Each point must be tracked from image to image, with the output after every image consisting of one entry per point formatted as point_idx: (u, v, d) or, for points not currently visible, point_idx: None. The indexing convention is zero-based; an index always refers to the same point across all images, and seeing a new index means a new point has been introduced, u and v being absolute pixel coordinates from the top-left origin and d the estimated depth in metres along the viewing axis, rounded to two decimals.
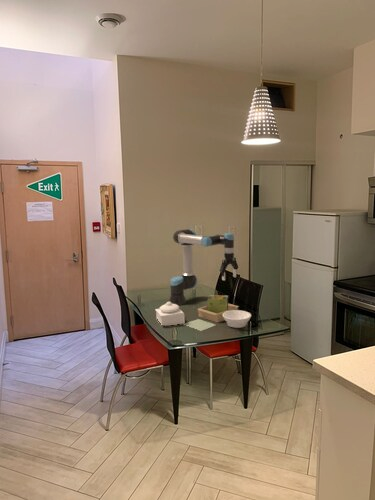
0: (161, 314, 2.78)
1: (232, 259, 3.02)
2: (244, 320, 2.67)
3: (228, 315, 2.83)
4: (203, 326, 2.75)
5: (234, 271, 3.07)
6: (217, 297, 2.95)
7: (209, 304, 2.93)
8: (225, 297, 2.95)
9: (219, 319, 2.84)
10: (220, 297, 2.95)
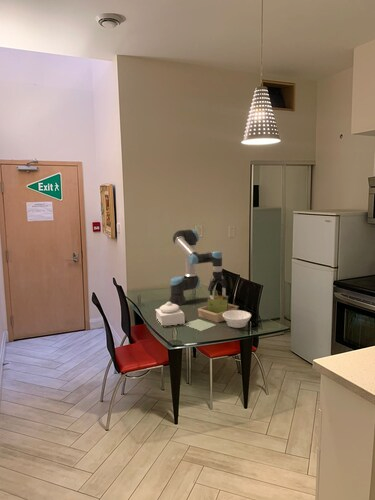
0: (161, 314, 2.78)
1: (221, 278, 2.95)
2: (244, 320, 2.67)
3: (228, 315, 2.83)
4: (203, 326, 2.75)
5: (223, 290, 3.00)
6: (217, 297, 2.95)
7: (209, 304, 2.93)
8: (225, 297, 2.95)
9: (219, 319, 2.84)
10: (220, 297, 2.95)
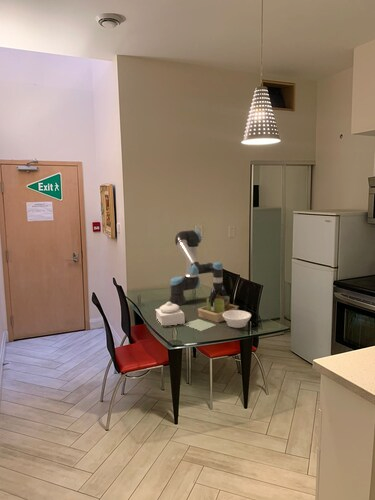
0: (161, 314, 2.78)
1: (221, 288, 2.96)
2: (244, 320, 2.67)
3: (228, 315, 2.83)
4: (203, 326, 2.75)
5: None
6: (216, 297, 2.95)
7: (208, 303, 2.96)
8: (224, 298, 2.93)
9: (219, 319, 2.84)
10: (219, 297, 2.94)
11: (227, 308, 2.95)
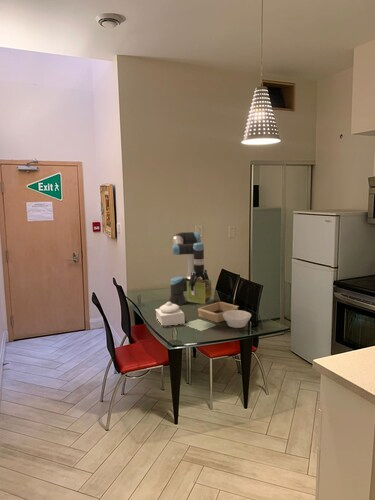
0: (161, 314, 2.78)
1: (202, 271, 2.74)
2: (244, 320, 2.67)
3: (228, 315, 2.83)
4: (203, 326, 2.75)
5: None
6: (197, 280, 2.73)
7: (188, 287, 2.73)
8: (206, 281, 2.71)
9: (219, 319, 2.84)
10: (200, 281, 2.72)
11: (209, 292, 2.72)
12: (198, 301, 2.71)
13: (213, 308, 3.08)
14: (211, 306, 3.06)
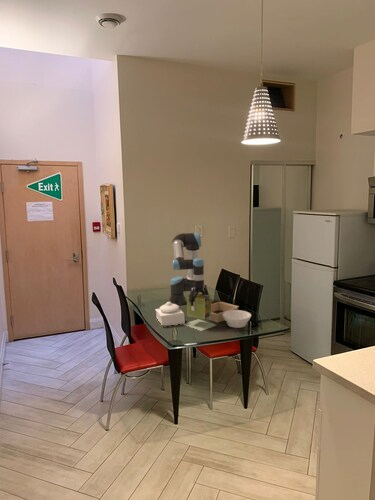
0: (161, 314, 2.78)
1: (202, 287, 2.76)
2: (244, 320, 2.67)
3: (228, 315, 2.83)
4: (203, 326, 2.75)
5: None
6: (197, 296, 2.75)
7: (188, 302, 2.75)
8: (205, 296, 2.72)
9: (219, 319, 2.84)
10: (200, 296, 2.74)
11: (209, 308, 2.74)
12: (198, 316, 2.72)
13: (213, 308, 3.08)
14: (211, 306, 3.06)
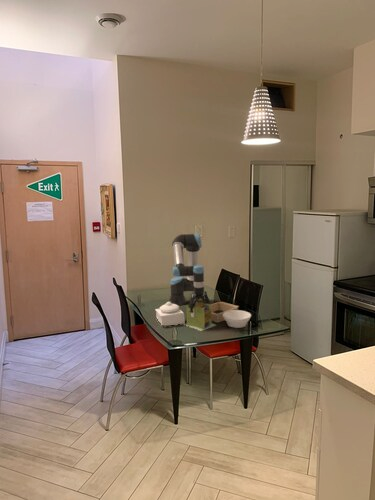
0: (161, 314, 2.78)
1: (202, 293, 2.76)
2: (244, 320, 2.67)
3: (228, 315, 2.83)
4: None
5: None
6: (197, 305, 2.75)
7: (188, 311, 2.76)
8: (205, 306, 2.73)
9: (219, 319, 2.84)
10: (200, 305, 2.74)
11: (208, 317, 2.74)
12: (197, 325, 2.73)
13: (213, 308, 3.08)
14: (211, 306, 3.06)
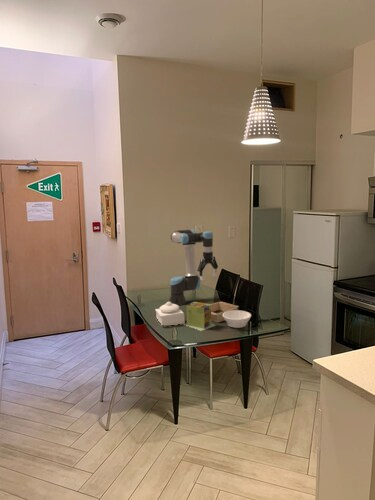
0: (161, 314, 2.78)
1: (211, 258, 2.92)
2: (244, 320, 2.67)
3: (228, 315, 2.83)
4: None
5: (213, 271, 2.97)
6: (197, 305, 2.75)
7: (188, 311, 2.76)
8: (205, 306, 2.73)
9: (219, 319, 2.84)
10: (200, 305, 2.74)
11: (208, 317, 2.74)
12: (197, 325, 2.73)
13: (213, 308, 3.08)
14: (211, 306, 3.06)
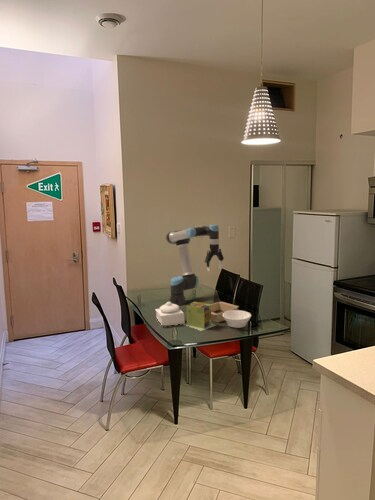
0: (161, 314, 2.78)
1: (217, 250, 3.05)
2: (244, 320, 2.67)
3: (228, 315, 2.83)
4: None
5: (219, 262, 3.10)
6: (197, 305, 2.75)
7: (188, 311, 2.76)
8: (205, 306, 2.73)
9: (219, 319, 2.84)
10: (200, 305, 2.74)
11: (208, 317, 2.74)
12: (197, 325, 2.73)
13: (213, 308, 3.08)
14: (211, 306, 3.06)
